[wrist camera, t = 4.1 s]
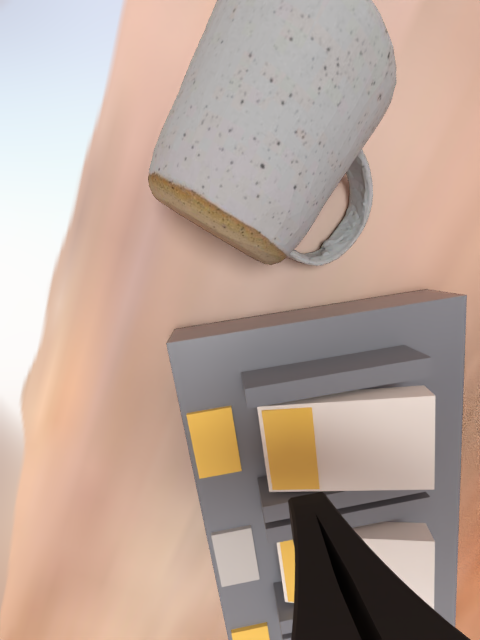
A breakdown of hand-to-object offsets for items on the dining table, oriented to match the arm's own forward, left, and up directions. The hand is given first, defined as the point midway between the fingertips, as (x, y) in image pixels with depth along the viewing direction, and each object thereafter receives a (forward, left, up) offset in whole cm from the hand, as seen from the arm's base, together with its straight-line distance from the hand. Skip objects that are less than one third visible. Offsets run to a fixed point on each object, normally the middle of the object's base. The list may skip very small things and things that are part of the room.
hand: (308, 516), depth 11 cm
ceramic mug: (-2, -14, -9) cm, 16 cm away
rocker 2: (-3, +8, -4) cm, 9 cm away
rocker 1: (-3, 0, -4) cm, 5 cm away
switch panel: (-3, +8, -8) cm, 12 cm away
